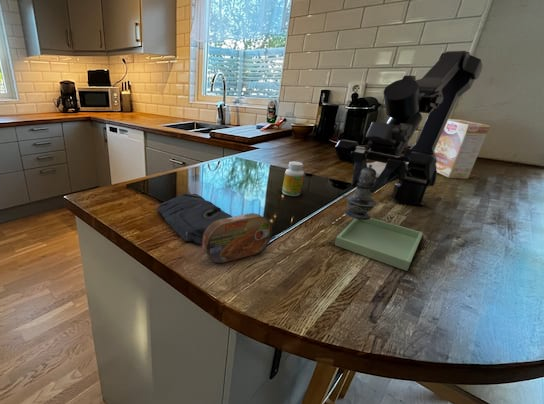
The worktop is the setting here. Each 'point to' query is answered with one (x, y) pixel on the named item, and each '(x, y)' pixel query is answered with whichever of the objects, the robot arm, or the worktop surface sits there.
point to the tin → (236, 237)
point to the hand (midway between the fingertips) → (361, 189)
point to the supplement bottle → (293, 179)
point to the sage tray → (380, 241)
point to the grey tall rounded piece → (362, 196)
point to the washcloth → (377, 167)
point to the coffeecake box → (459, 147)
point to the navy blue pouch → (190, 215)
